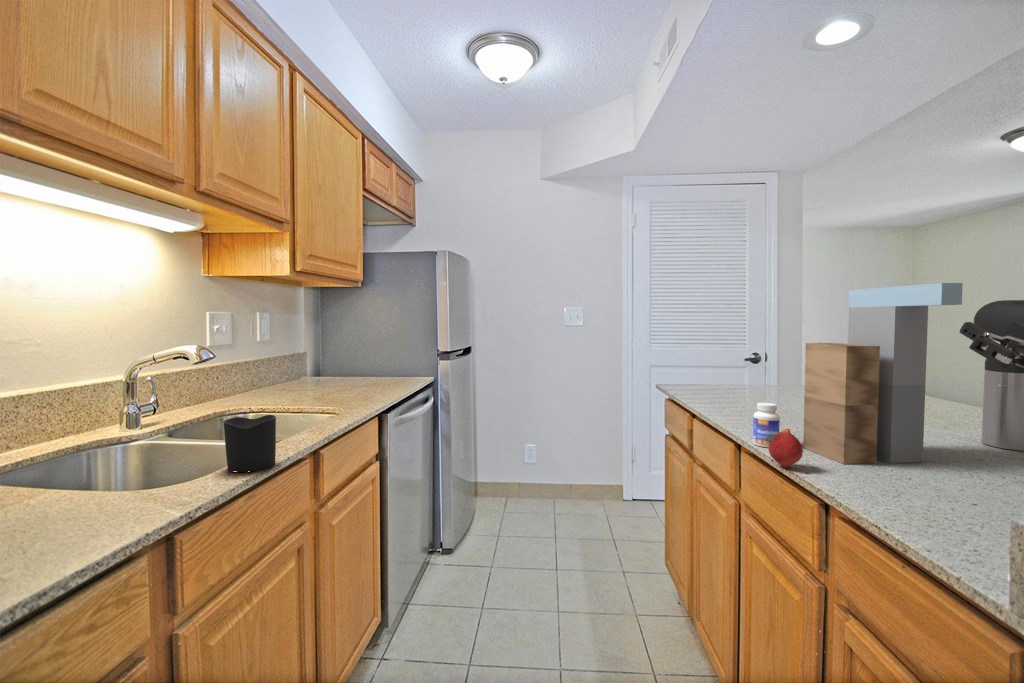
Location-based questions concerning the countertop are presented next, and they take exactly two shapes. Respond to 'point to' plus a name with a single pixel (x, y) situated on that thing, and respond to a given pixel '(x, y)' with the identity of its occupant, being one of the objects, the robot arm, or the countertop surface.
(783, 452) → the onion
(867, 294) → the beam
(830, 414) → the block
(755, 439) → the pill bottle
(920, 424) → the block
